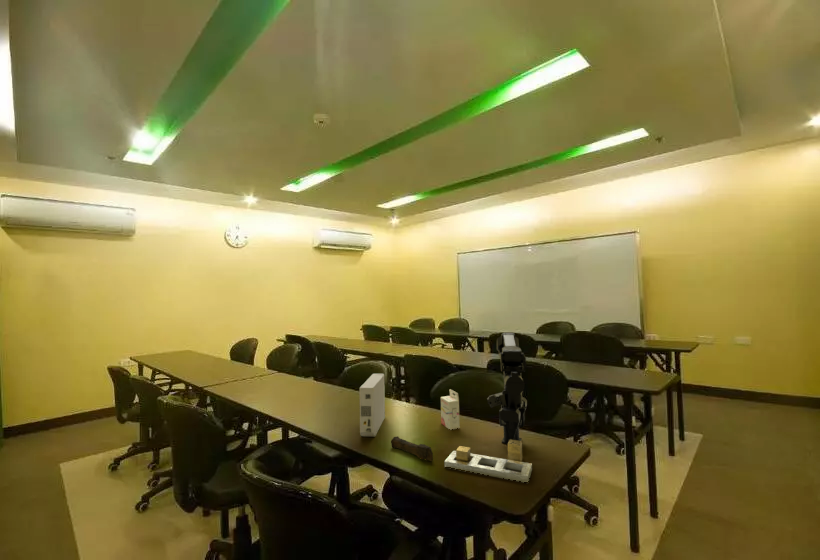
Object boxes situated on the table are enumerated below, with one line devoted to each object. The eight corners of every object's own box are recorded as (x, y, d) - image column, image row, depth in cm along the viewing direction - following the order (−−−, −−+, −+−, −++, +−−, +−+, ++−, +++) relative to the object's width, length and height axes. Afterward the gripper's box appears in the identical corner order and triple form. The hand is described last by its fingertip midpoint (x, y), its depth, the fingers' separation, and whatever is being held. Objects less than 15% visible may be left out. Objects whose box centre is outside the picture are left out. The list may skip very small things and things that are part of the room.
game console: (385, 416, 172) (385, 373, 173) (374, 439, 145) (373, 387, 146) (373, 416, 173) (373, 373, 174) (360, 438, 146) (359, 387, 147)
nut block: (510, 457, 126) (509, 439, 127) (522, 459, 125) (521, 441, 125) (508, 462, 123) (507, 443, 123) (520, 464, 121) (519, 445, 121)
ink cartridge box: (440, 423, 161) (439, 389, 162) (450, 422, 163) (449, 388, 163) (449, 430, 153) (448, 394, 154) (460, 428, 155) (459, 393, 155)
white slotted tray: (453, 456, 128) (453, 441, 128) (532, 470, 117) (531, 454, 117) (444, 467, 120) (444, 451, 120) (528, 483, 109) (527, 465, 109)
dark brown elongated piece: (390, 448, 136) (390, 435, 136) (398, 445, 139) (398, 433, 139) (426, 465, 122) (426, 451, 122) (435, 461, 125) (434, 447, 125)
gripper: (495, 378, 137) (496, 421, 136) (482, 391, 120) (483, 440, 119) (526, 381, 132) (527, 425, 131) (517, 394, 115) (519, 445, 115)
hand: (514, 433), depth 124 cm, fingers open, 9 cm apart
